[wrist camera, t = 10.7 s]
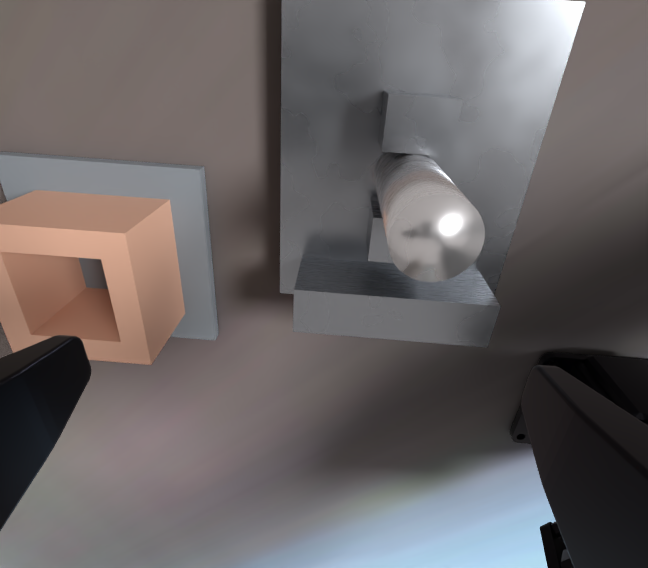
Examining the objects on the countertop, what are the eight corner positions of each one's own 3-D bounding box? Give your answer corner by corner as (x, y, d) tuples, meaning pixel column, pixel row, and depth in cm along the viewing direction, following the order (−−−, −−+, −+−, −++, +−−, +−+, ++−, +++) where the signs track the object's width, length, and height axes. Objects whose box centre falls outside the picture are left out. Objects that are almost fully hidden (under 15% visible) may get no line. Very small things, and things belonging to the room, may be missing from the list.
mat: (218, 333, 22) (215, 340, 21) (56, 320, 22) (49, 326, 21) (204, 166, 17) (199, 169, 17) (1, 151, 18) (-10, 154, 17)
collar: (185, 313, 20) (151, 364, 17) (70, 304, 21) (13, 353, 17) (169, 199, 18) (125, 233, 14) (36, 189, 18) (-42, 221, 14)
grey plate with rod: (483, 298, 20) (553, 423, 13) (283, 283, 20) (248, 396, 13) (570, 5, 14) (783, -50, 7) (285, -13, 14) (226, -84, 7)
